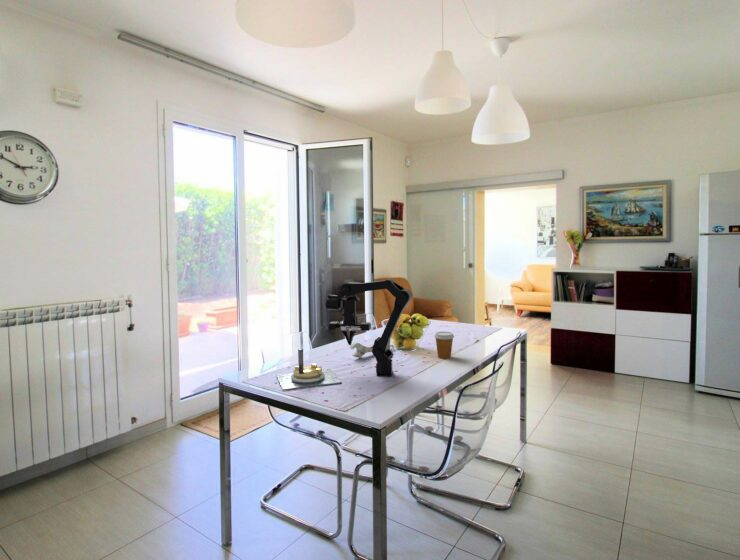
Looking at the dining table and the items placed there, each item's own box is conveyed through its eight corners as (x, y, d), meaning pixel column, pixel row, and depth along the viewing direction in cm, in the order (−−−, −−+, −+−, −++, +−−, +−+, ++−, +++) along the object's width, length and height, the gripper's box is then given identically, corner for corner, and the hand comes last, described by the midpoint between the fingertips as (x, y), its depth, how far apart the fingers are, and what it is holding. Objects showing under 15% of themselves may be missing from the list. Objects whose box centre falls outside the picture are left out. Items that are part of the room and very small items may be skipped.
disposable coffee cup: (448, 353, 220) (448, 330, 219) (457, 358, 211) (457, 334, 210) (431, 355, 218) (431, 332, 217) (439, 360, 209) (439, 336, 208)
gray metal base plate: (330, 370, 195) (329, 365, 195) (341, 383, 176) (341, 378, 176) (276, 376, 187) (276, 371, 187) (282, 390, 169) (282, 385, 168)
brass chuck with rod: (327, 375, 180) (326, 347, 179) (301, 381, 173) (300, 351, 172) (313, 368, 190) (313, 342, 189) (288, 373, 183) (287, 346, 182)
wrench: (393, 355, 231) (351, 359, 210) (391, 354, 232) (349, 359, 212) (394, 340, 231) (352, 343, 210) (392, 339, 232) (350, 342, 212)
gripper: (373, 308, 197) (373, 341, 198) (333, 307, 200) (334, 340, 202) (368, 312, 186) (369, 347, 187) (327, 311, 189) (327, 346, 191)
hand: (349, 345), depth 192 cm, fingers closed
